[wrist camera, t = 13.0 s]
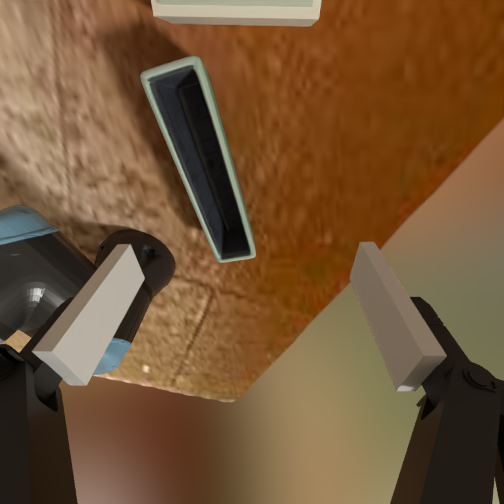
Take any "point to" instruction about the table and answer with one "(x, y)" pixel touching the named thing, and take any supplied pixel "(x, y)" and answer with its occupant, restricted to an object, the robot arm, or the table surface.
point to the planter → (201, 153)
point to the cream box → (238, 12)
